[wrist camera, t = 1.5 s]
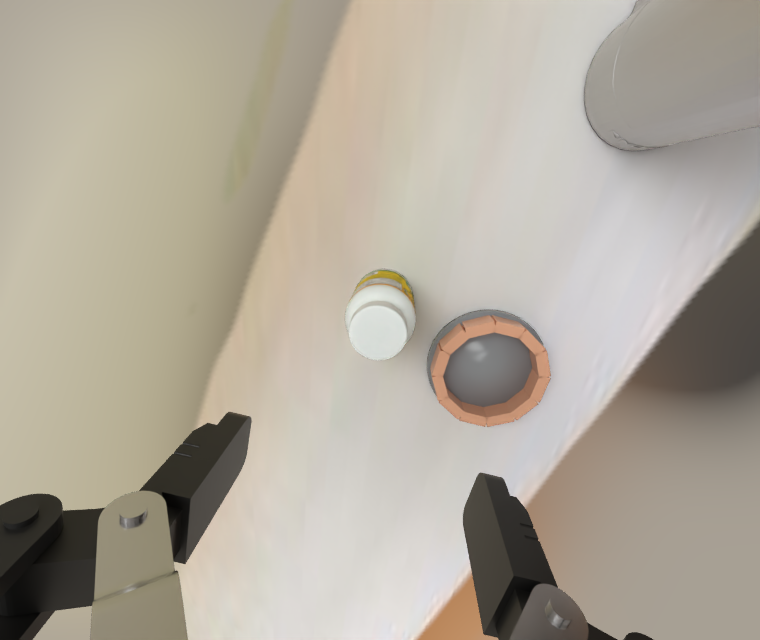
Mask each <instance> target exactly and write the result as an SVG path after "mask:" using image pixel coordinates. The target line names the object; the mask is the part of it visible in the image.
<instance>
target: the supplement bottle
mask: <svg viewBox="0 0 760 640" xmlns="http://www.w3.org/2000/svg"><path fill="white" fill-rule="evenodd" d="M415 324H416V314H415V306H414V298H413V292H412V289H411V287H410V285H409V283H408V281H407V280H406V279H405V278H404V277H403V276H402V275H401V274H399V273H398V272H396V271H393V270H388V269H379V270H375V271H372V272H370V273H368V274H367V275H365V276H364V277H363V278H362V279H361V281H360V282H359V283H358V285H357V287H356V289H355V291H354V293H353V295H352V297H351V299H350V301H349V303H348V305H347V308H346V312H345V325H346V329H347V331H348V334H349V339H350V342H351V344H352V346H353V347H354V349H355V350H356V351H357V352H358V353H359V354H360V355H362V356H364V357H366V358H368V359H371V360H386V359H389V358H392V357H394V356H395V355H397V354H398V353H399V352H400V351H401V350H402V348H403V347H404V345H405V344H406V343H407V342H408V340H409V339H410V337H411V336H412V334H413V332H414V329H415Z"/></svg>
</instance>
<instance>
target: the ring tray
mask: <svg viewBox="0 0 760 640" xmlns="http://www.w3.org/2000/svg"><path fill="white" fill-rule="evenodd" d="M427 371H428V377H429V381H430V384H431V387H432V389H433V391H434V393H435V394H436V396H437V399H438V401H439V403H440V404H441V405H442V406H443V407H445V408H446V409H447V410H448V411H449V412H450V413H451V414H452V415H453V416H454V417H455V418H457V419H459V420H460V421H464V422H468V423H472V424H476V425H480V426H484V427H485V426H486V424H487V427H489V426H494V425H499V424H504V423H509V422H514V418H515V419H516V420H518V419H519V418H520V417H522V416H523V415H524V414H526V413H527V412H528V411H530V410H531V409H532V408H534V407H535V406H536V405H538V403H537V402H540V401H541V398H542V396H543V394H544V392H545V390H546V387H547V385H548V383H549V381H550V379H551V378H550V377H549V376H551V374H550V368H549V361H548V355H547V351H546V350H545V348H544V346H543V344H542V341H541V340H540V338H539V336H538V335H537V333H536V332H535V331H534V330H533V329H532V328H531V327H530V326H529V325H528V324H527V323H526V322H525V321H523V320H522V319H520V318H519V317H517V316H515V315H513V314H510V313H507V312H504V311H498V310H479V311H474V312H470V313H467V314H464V315H462V316H460V317H458V318H456V319H454V320H453V321H451V322H450V323H449V324H447V325H446V326H445V327H444V328H443V329H442V330H441V331H440V332H439V334H438V335H437V336H436V338H435V339H434V341H433V343H432V345H431V348H430V350H429V354H428V360H427Z"/></svg>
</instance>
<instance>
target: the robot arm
mask: <svg viewBox="0 0 760 640" xmlns="http://www.w3.org/2000/svg"><path fill="white" fill-rule="evenodd" d="M585 107H586V112H587V117H588V119H589V121H590V123H591V125H592V128H593V129H594V130H595V132H596V133H597V134H598V135H599V137H600V138H602V139H603V140H604V141H606V142H607V143H608V144H610V145H612V146H614V147H617V148H619V149H623V150H630V151H638V150H648V149H654V148H660V147H665V146H669V145H672V144H676V143H681V142H687V141H691V140H696V139H701V138H706V137H710V136H715V135H720V134H724V133H729V132H734V131H739V130H743V129H748V128H753V127H757V126H760V0H638V1H637V2H636V5H635V7H634V10H633V12H632V14H631V15H630V17H629V18H628V19H627V20H626V21H625V22H623V23H622V24H621V25H620V26H619V27H617V28H616V29H615V30H614V31H613V32H612V33H611V34H610V35H609V36H608V37H607V39H606V40H605V41H604V42H603V43H602V45H601V46H600V48H599V50H598V51H597V53H596V55H595V57H594V58H593V61H592V63H591V66H590V68H589V71H588V74H587V79H586V84H585ZM250 428H251V417H249V416H245V415H241V414H237V413H233V412H228V413H227V414H226V415H225V416H224V417H223V419H222V420H221V421H220V422H219V423H218V425H214V424H210V423H207V424H205V425H203V426H201V427H200V428H198V429H196V430H194V431H193V432H192V433H191V434H190V435H189V436H188V437H187V438H186V440H185V441H184V442H183V444H182V445H180V446H179V447H178V448H177V449H176V451H175V452H174V454H172V455H171V456H170V457H169V458H168V460H166V462H165V463H164V464H163V465H162V466H161V467H160V468H159V469H158V471H157V472H156V473H155V474H154V475H153V476H152V477H151V478H150V479H149V480H148V482H147V483H146V484H145V485H144V486H143V487H142V488H141V489H140V490H139V491H136V492H131V493H128V494H125V495H123V496H121V497H119V498H117V499H115V500H114V501H112V502H111V503H110V504H109V505H107V506H106V508H100V509H87V510H69V511H63V510H62V509H63V508H62V503H61V501H60V500H59V499H58V498H57V497H55V496H53V495H49V494H33V495H32V494H31V495H27V496H22V497H19V498H16V499H13V500H11V501H8V502H6V503H4V504H2V505H0V640H33V638H34V637H35V636H36V634H37V633H38V632H39V630H40V629H41V628H42V627H43V625H44V624H45V623H46V621H47V620H48V619H49V618H50V616H51V615H52V614H53V613H54V611H55V610H63V609H71V608H78V607H86V606H92V614H91V632H90V640H188V637H187V629H186V622H185V615H184V607H183V600H182V593H181V585H180V579H179V574H178V571H175V568H174V562H178V563H183V564H186V562H187V560H188V559H189V557H190V555H191V554H192V552H193V550H194V549H195V547H196V545H197V544H198V542H199V540H200V539H201V537H202V535H203V534H204V532H205V530H206V528H207V527H208V525H209V523H210V522H211V520H212V518H213V517H214V515H215V513H216V512H217V510H218V508H219V507H220V505H221V503H222V502H223V500H224V498H225V497H226V495H227V493H228V492H229V490H230V488H231V487H232V485H233V483H234V482H235V480H236V478H237V476H238V475H239V473H240V471H241V469H242V467H243V465H244V462H245V459H246V455H247V449H248V442H249V435H250ZM463 527H464V532H465V537H466V543H467V548H468V553H469V559H470V564H471V569H472V575H473V580H474V586H475V591H476V596H477V601H478V607H479V612H480V618H481V623H482V628H483V634H484V635H489V636H493V637H497V638H498V639H499V640H617V639H615V638H613V637H612V636H610V635H608V634H606V633H604V632H602V631H601V630H599V629H597V628H595V627H594V626H592V625H590V624H589V623H587V621H586V619H585V616H584V614H583V613H582V611H581V610H580V608H579V606H578V605H577V604H576V603H575V602H574V601H573V599H571V597H570V596H568V595H567V594H566V593H565V592H563V591H562V590H560V589H558V586H557V584H556V581H555V579H554V576H553V574H552V572H551V569H550V566H549V564H548V561H547V559H546V557H545V554H544V551H543V549H542V547H541V544H540V542H539V541H538V537H537V534H536V532H535V529H533V524H532V522H531V519H530V517H529V514H528V512H527V510H526V509H525V508H524V506H523V505H522V504H521V503H520V501H519V500H518V499H517V497H513V496H510V495H509V492H508V489H507V486H506V484H505V481H504V479H503V478H501V477H497V476H493V475H489V474H485V473H479V474H478V476H477V478H476V480H475V483H474V485H473V488H472V490H471V493H470V495H469V497H468V500H467V502H466V505H465V508H464V513H463ZM624 640H653V639H652V638H650V637H648V636H646V635H643V634H641V633H636V632H634V633H633V632H632V633H629V634H628V635H626V637H625V638H624Z"/></svg>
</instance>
